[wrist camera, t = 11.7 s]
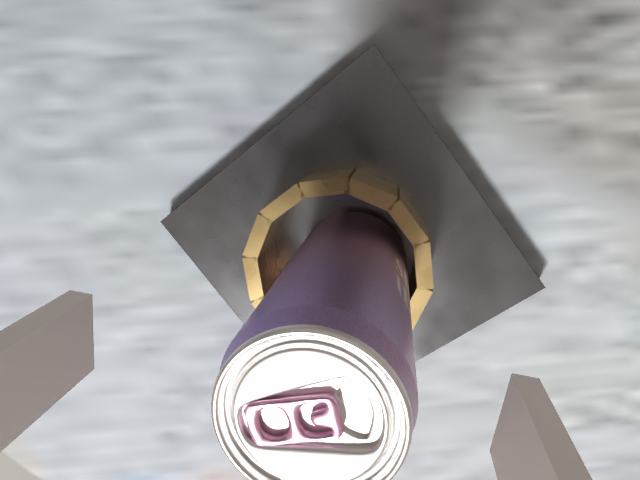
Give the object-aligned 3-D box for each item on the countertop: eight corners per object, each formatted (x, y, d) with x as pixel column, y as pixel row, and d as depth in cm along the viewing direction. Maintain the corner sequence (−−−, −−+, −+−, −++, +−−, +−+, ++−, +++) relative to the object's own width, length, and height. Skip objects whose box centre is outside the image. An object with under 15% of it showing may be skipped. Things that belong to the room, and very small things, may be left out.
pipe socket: (169, 217, 29) (128, 236, 25) (375, 47, 25) (370, 33, 20) (321, 405, 31) (309, 454, 27) (539, 279, 27) (567, 313, 22)
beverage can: (293, 219, 27) (178, 337, 13) (396, 200, 26) (398, 307, 11) (315, 314, 28) (233, 518, 14) (414, 300, 27) (436, 508, 13)
